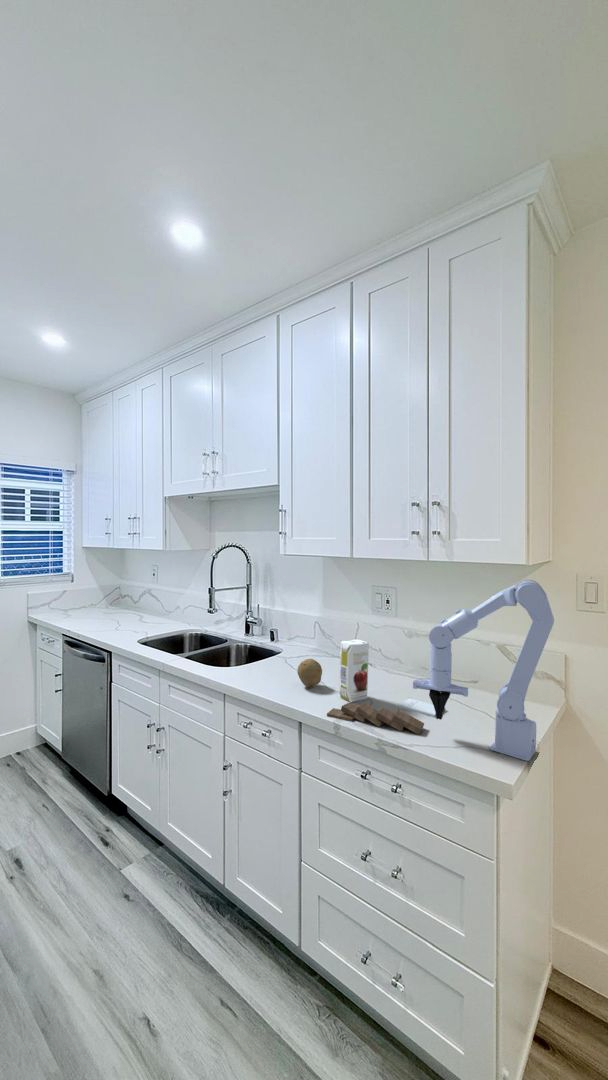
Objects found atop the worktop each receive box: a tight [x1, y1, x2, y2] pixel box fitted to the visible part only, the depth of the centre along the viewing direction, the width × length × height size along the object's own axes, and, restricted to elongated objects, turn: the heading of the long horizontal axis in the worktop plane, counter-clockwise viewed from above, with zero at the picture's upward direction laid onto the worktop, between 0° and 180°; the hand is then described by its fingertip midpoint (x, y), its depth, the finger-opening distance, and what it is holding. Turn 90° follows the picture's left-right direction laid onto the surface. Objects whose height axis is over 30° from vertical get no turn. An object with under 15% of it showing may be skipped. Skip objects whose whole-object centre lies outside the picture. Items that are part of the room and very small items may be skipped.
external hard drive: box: [397, 697, 446, 718], centre depth 148 cm, size 2×8×12 cm
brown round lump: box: [297, 658, 323, 689], centre depth 167 cm, size 9×9×10 cm
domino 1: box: [326, 707, 356, 722], centre depth 141 cm, size 2×5×8 cm
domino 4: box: [375, 706, 405, 732], centre depth 134 cm, size 2×5×8 cm
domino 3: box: [356, 701, 386, 728], centre depth 137 cm, size 2×5×8 cm
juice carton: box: [339, 639, 370, 703], centre depth 156 cm, size 8×9×19 cm
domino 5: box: [393, 709, 426, 735], centre depth 132 cm, size 2×5×8 cm
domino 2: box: [340, 702, 369, 723], centre depth 140 cm, size 2×5×8 cm
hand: (439, 717), depth 128 cm, fingers closed
